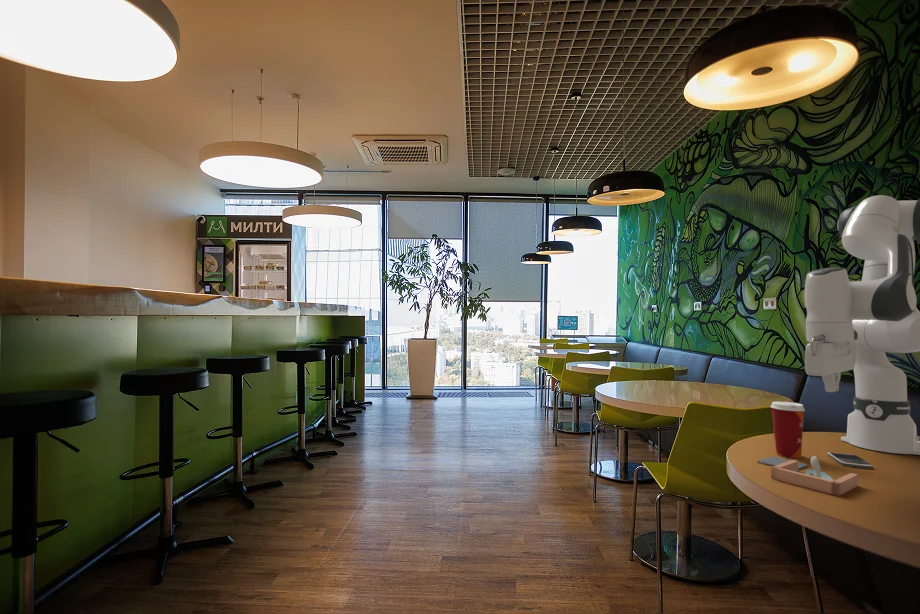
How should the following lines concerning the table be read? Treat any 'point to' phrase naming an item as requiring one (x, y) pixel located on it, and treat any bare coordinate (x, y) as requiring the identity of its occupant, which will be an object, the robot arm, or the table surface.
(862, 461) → the cell phone
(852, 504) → the table surface
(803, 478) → the pink u-shaped bracket
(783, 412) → the paper cup
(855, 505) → the table surface
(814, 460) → the pacifier
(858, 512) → the table surface
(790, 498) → the table surface
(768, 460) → the gray tile
